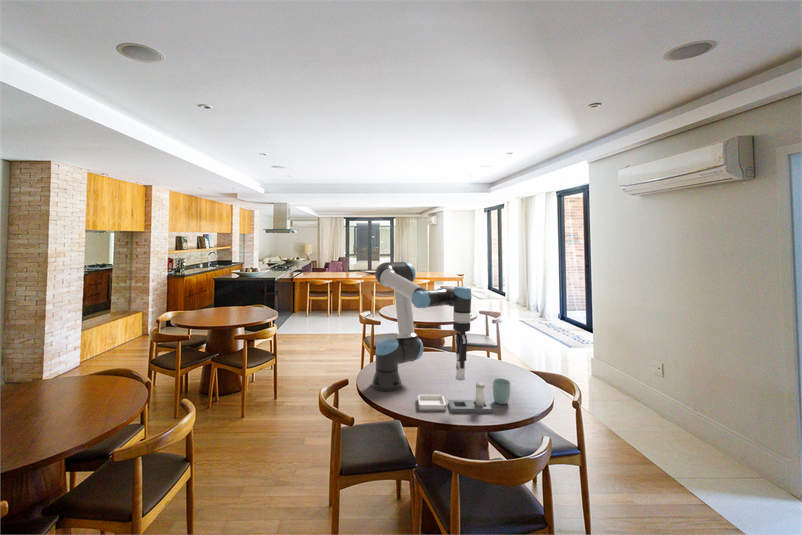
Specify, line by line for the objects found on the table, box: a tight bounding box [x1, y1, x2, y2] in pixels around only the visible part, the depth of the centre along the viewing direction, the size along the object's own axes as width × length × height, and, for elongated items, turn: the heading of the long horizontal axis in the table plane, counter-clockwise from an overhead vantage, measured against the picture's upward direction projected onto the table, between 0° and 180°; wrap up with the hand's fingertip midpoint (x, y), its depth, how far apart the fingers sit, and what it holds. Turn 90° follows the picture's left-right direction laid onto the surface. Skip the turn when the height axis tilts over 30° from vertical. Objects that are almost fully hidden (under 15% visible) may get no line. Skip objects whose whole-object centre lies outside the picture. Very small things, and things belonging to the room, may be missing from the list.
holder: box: [448, 399, 494, 414], centre depth 157 cm, size 18×9×2 cm, turn 91°
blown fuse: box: [455, 353, 466, 382], centre depth 156 cm, size 4×4×11 cm
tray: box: [417, 394, 447, 412], centre depth 160 cm, size 12×11×2 cm
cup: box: [492, 378, 511, 405], centre depth 163 cm, size 8×8×10 cm
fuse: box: [475, 382, 486, 407], centre depth 157 cm, size 4×4×11 cm
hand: (460, 373), depth 156 cm, fingers closed on blown fuse, 4 cm apart
